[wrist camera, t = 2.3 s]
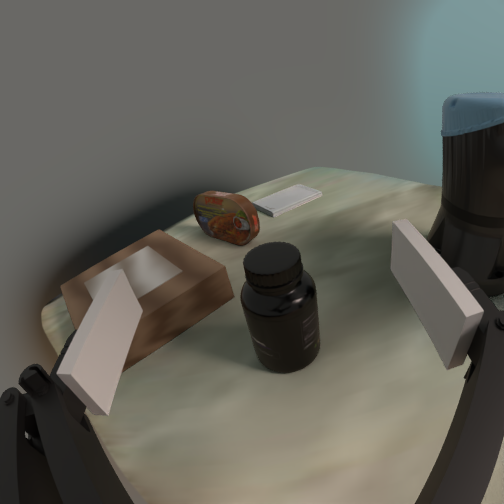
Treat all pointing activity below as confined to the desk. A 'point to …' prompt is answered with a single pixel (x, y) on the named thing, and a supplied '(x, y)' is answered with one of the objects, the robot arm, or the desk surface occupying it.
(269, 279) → the supplement bottle
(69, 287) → the plinth
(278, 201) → the hard drive
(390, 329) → the desk surface
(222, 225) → the tin
